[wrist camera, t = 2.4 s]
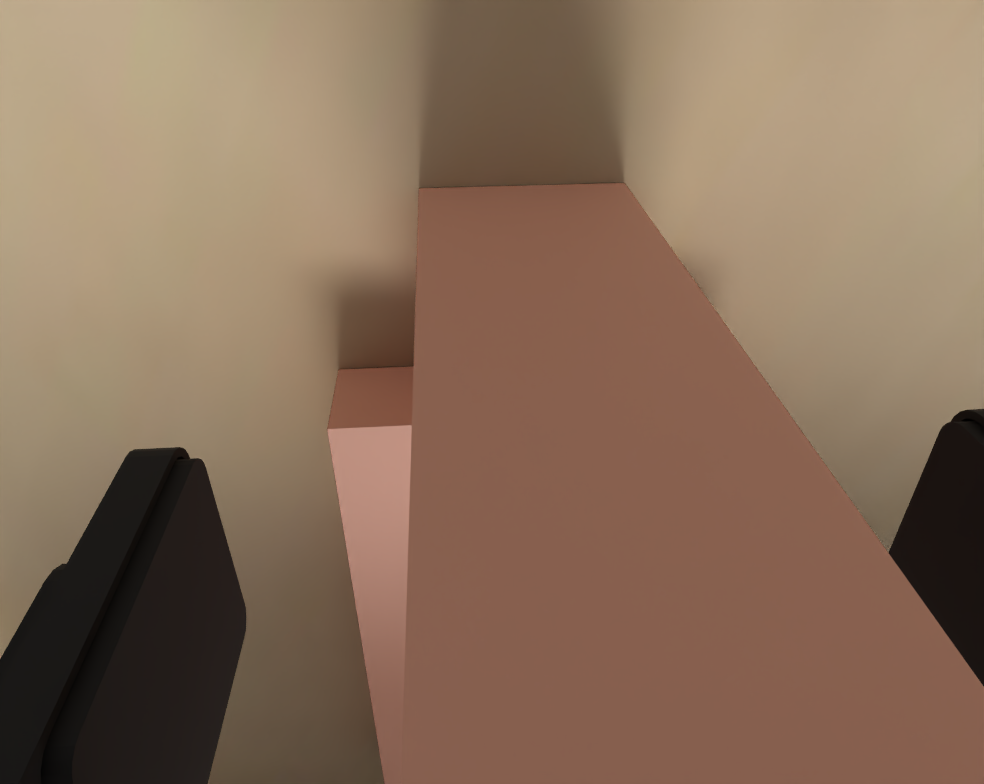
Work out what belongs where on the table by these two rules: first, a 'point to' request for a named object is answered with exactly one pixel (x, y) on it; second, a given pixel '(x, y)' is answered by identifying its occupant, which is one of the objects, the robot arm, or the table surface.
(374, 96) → the table surface
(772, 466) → the block
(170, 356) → the table surface
